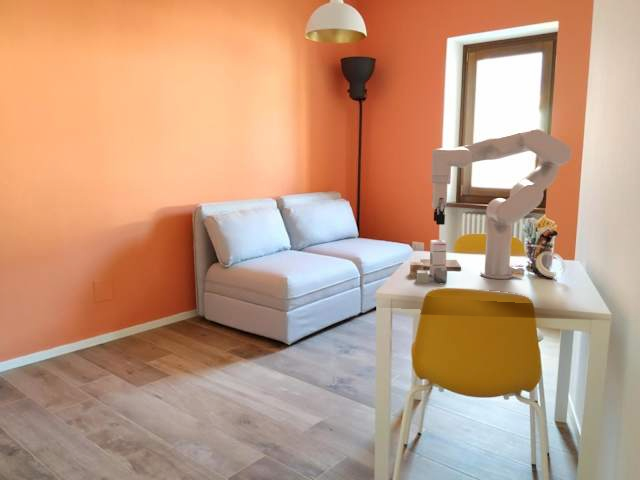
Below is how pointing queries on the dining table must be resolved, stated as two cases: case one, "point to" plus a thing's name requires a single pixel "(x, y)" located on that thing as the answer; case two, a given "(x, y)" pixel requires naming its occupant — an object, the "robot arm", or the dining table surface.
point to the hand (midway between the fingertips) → (438, 222)
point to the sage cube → (422, 276)
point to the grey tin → (440, 275)
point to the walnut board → (449, 264)
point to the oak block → (415, 268)
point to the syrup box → (437, 255)
